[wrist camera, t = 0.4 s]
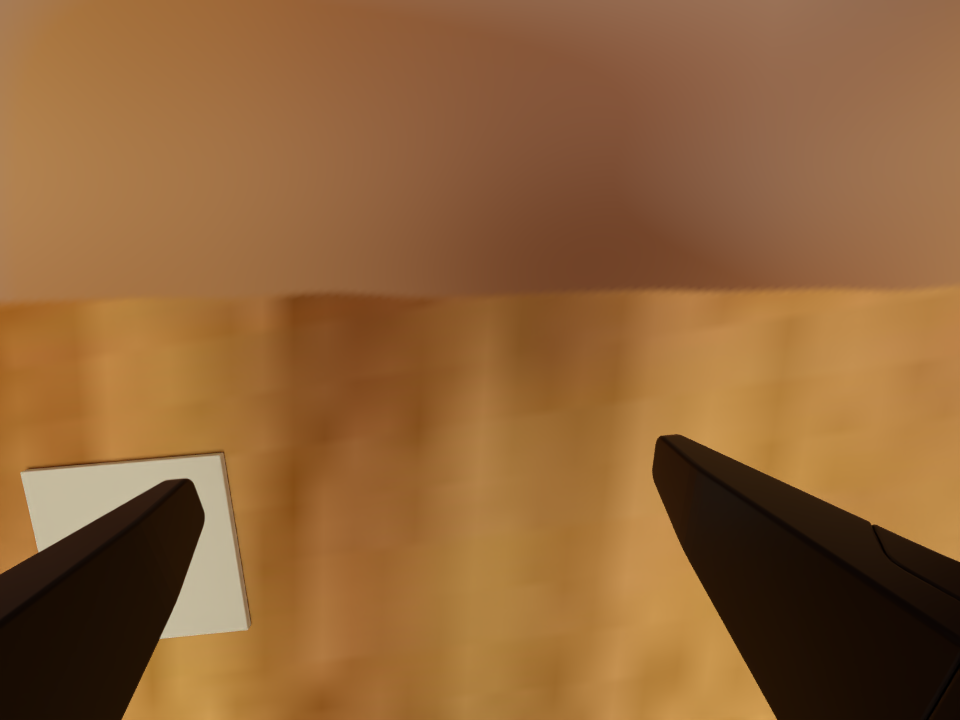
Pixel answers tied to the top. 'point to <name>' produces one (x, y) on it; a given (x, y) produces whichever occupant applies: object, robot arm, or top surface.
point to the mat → (105, 486)
